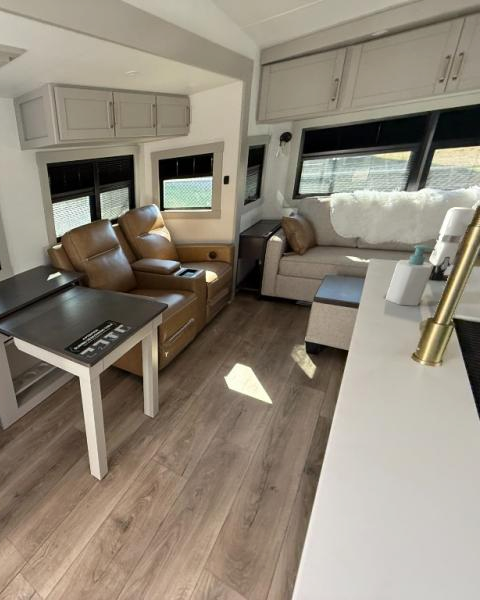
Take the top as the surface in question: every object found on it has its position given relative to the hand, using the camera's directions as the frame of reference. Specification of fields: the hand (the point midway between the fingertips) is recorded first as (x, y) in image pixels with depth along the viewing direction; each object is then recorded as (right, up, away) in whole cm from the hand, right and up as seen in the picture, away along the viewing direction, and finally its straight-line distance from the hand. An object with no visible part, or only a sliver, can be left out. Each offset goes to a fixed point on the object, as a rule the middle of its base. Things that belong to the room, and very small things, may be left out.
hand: (434, 279), depth 139 cm
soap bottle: (-29, -10, -15) cm, 34 cm away
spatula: (-2, 0, +1) cm, 2 cm away
